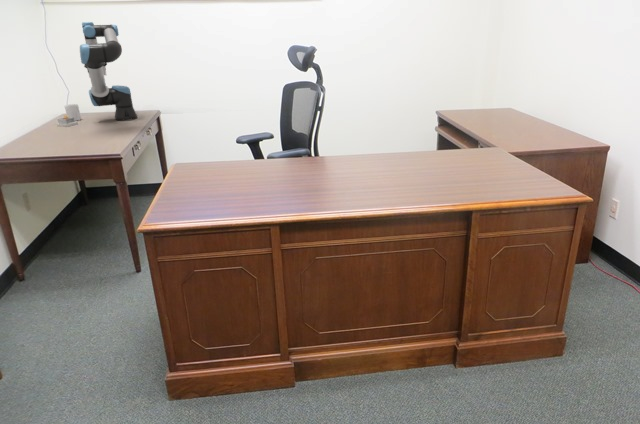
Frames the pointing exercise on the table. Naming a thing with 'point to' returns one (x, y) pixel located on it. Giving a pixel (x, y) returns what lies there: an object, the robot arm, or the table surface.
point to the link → (66, 121)
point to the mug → (73, 111)
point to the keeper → (67, 124)
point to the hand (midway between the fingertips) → (98, 76)
